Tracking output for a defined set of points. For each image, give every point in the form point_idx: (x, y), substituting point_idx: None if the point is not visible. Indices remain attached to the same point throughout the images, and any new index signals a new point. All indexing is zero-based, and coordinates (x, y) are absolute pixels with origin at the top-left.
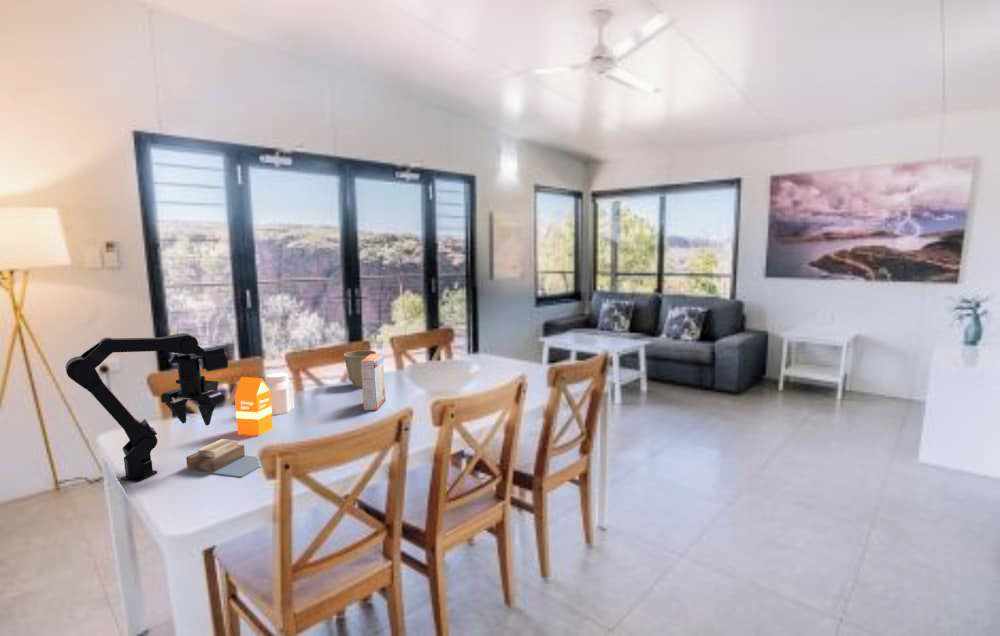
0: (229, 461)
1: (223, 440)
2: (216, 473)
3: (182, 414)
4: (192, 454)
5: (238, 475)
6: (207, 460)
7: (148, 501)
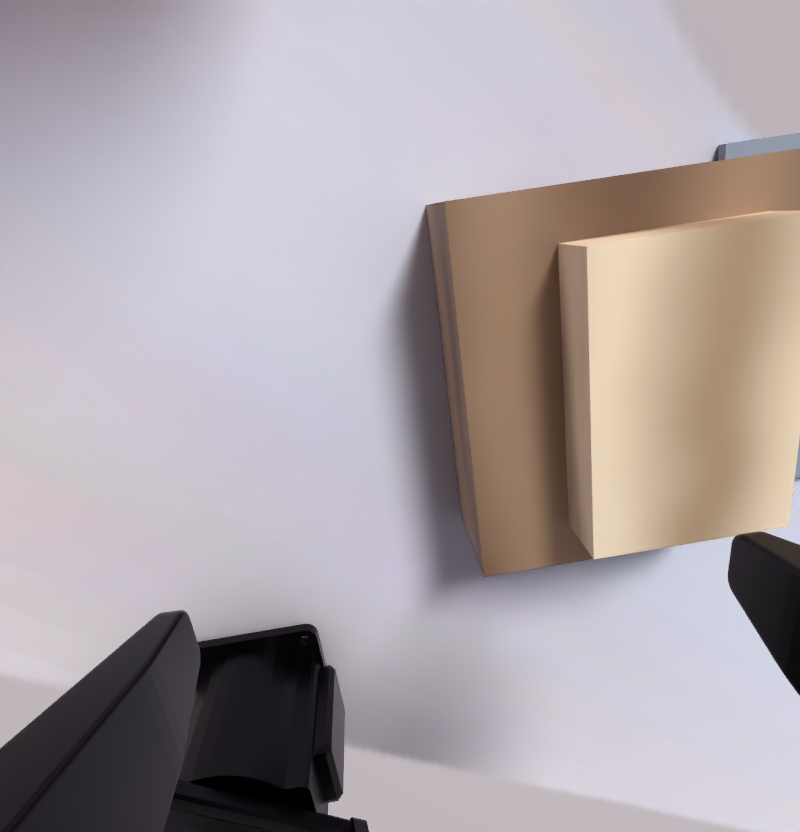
0: None
1: (651, 274)
2: None
3: (117, 827)
4: (481, 522)
5: None
6: None
7: (619, 797)
